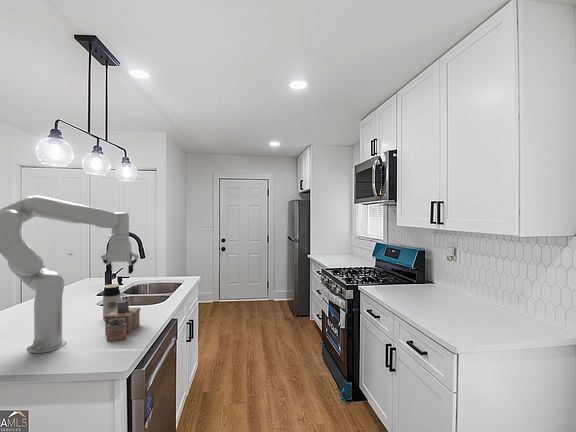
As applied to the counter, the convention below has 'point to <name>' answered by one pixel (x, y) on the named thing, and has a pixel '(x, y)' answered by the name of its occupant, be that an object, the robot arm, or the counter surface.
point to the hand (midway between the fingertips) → (120, 273)
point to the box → (131, 323)
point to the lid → (122, 311)
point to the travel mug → (110, 298)
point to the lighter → (116, 330)
